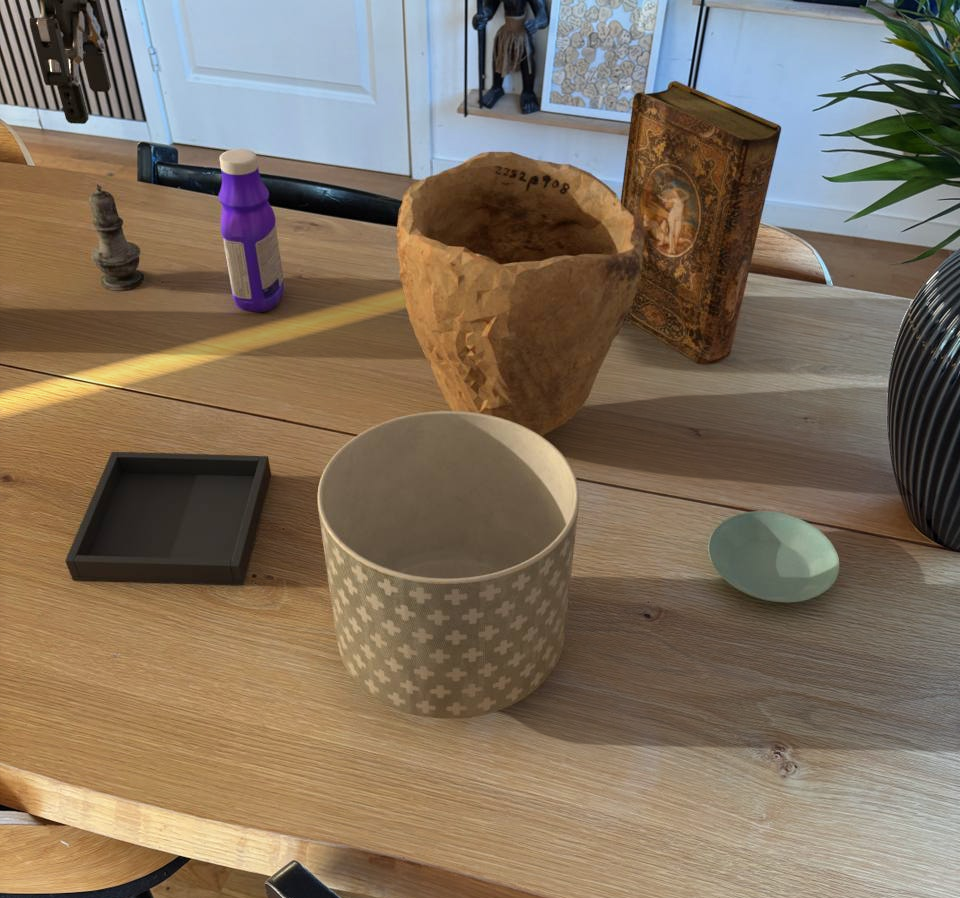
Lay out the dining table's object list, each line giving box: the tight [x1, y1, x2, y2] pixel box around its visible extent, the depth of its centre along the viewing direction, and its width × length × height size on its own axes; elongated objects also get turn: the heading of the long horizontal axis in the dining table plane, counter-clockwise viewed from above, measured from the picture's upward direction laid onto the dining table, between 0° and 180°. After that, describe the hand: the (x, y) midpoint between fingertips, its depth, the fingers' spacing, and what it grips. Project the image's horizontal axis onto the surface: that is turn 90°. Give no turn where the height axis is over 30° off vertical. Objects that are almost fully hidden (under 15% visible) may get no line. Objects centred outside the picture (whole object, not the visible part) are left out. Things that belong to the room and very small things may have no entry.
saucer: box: [707, 510, 840, 603], centre depth 93 cm, size 12×12×2 cm
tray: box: [64, 451, 272, 586], centre depth 96 cm, size 16×16×2 cm
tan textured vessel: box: [396, 151, 645, 437], centre depth 98 cm, size 22×22×25 cm
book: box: [620, 80, 782, 365], centre depth 112 cm, size 16×6×25 cm, turn 39°
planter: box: [316, 410, 580, 720], centre depth 80 cm, size 19×19×18 cm
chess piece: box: [88, 184, 146, 292], centre depth 123 cm, size 6×6×12 cm
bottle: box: [218, 148, 285, 313], centre depth 118 cm, size 7×6×17 cm
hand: (90, 106), depth 110 cm, fingers open, 8 cm apart
